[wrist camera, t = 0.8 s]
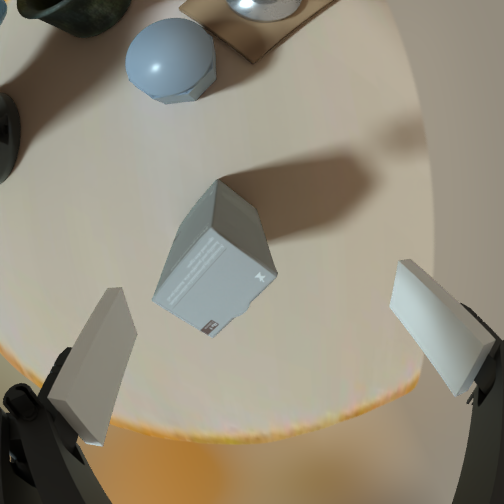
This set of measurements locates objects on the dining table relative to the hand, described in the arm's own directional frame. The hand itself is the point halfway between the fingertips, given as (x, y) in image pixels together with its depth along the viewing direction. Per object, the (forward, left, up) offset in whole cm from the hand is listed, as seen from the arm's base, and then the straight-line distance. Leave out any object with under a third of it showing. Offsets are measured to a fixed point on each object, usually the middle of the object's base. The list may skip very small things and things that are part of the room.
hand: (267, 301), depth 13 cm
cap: (-16, +6, -23) cm, 29 cm away
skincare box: (0, -5, -23) cm, 24 cm away
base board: (-16, +20, -23) cm, 35 cm away
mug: (-34, +8, -23) cm, 42 cm away
